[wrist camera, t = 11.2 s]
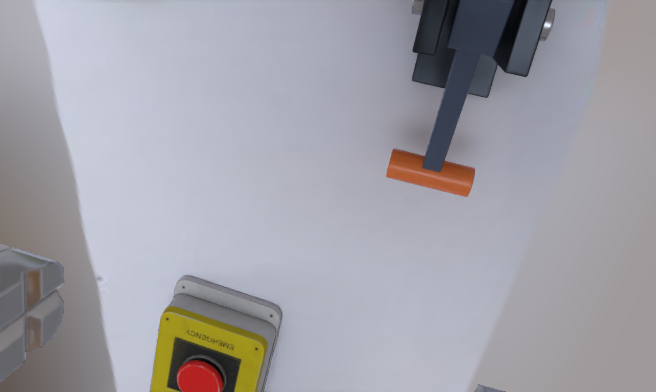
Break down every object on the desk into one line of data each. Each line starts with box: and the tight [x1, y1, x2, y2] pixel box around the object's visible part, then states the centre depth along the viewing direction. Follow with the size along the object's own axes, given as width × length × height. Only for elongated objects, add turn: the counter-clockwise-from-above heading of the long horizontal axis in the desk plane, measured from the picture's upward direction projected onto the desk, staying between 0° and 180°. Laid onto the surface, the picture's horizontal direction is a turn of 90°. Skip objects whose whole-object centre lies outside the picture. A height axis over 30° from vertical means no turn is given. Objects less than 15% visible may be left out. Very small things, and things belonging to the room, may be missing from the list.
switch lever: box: [386, 0, 515, 197], centre depth 28 cm, size 13×5×2 cm, turn 169°
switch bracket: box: [412, 0, 555, 98], centre depth 28 cm, size 10×6×13 cm, turn 169°
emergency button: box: [150, 276, 282, 392], centre depth 46 cm, size 9×4×15 cm
